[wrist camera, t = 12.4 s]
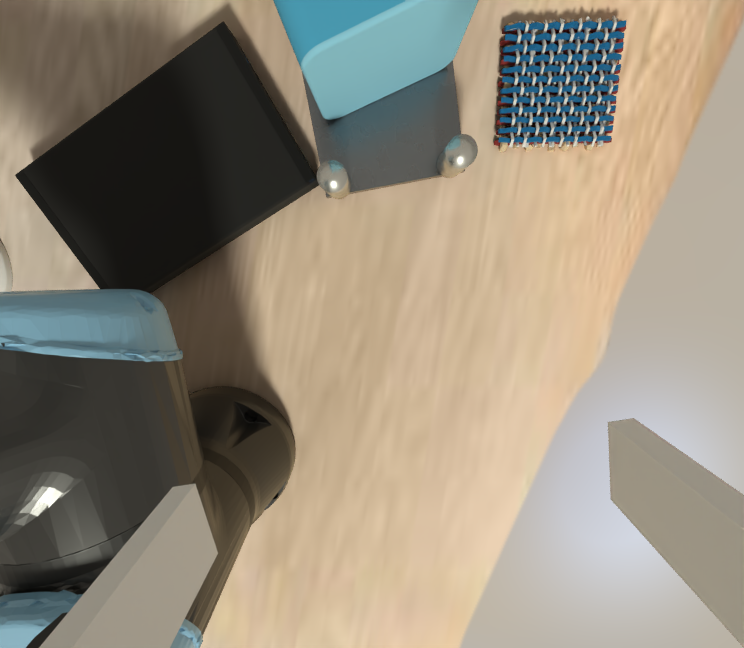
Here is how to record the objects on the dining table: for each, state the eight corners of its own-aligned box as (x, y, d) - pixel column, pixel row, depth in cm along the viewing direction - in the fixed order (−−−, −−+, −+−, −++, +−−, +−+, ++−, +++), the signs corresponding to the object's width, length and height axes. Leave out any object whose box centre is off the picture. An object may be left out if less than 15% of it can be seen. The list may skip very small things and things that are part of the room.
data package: (434, 9, 30) (468, -134, 19) (452, 65, 31) (496, -38, 20) (305, 72, 32) (262, -25, 20) (326, 125, 33) (297, 60, 21)
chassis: (328, 202, 35) (319, 194, 29) (281, -39, 31) (259, -105, 25) (462, 177, 34) (480, 163, 29) (434, -74, 30) (447, -150, 24)
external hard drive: (43, 179, 35) (13, 173, 32) (236, 39, 32) (223, 19, 30) (135, 303, 38) (115, 308, 35) (321, 184, 35) (316, 179, 32)
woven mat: (604, 152, 34) (618, 147, 32) (490, 154, 34) (497, 149, 32) (620, 24, 32) (636, 10, 30) (498, 27, 32) (506, 13, 30)
